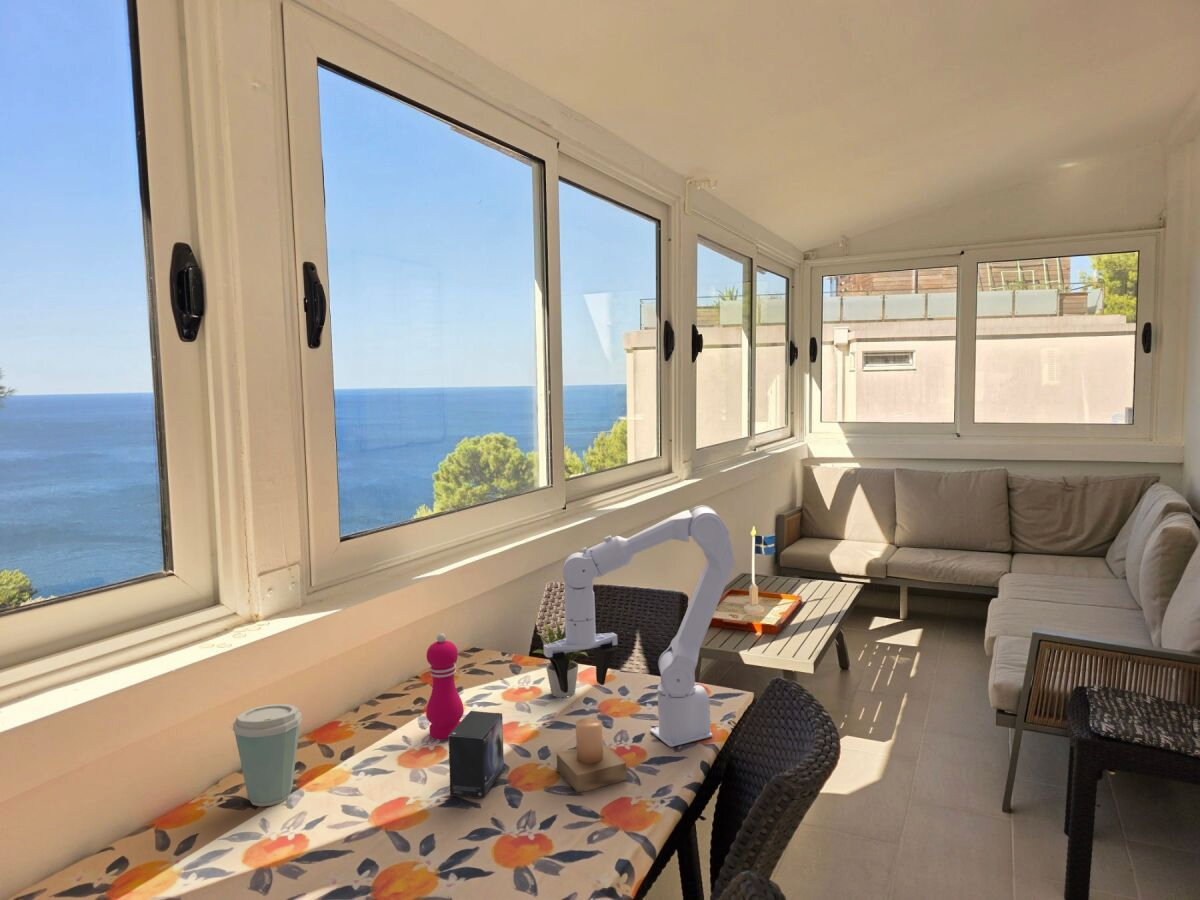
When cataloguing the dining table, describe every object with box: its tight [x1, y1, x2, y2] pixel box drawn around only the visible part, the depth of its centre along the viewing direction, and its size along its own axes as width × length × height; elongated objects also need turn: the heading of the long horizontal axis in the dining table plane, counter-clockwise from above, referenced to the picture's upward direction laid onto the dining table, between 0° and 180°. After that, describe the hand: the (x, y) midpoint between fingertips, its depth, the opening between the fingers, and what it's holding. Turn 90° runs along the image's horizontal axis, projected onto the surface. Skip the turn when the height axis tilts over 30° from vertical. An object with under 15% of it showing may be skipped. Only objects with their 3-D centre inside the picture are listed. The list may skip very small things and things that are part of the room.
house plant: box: [533, 620, 588, 698], centre depth 171 cm, size 14×14×16 cm
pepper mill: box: [425, 633, 465, 741], centre depth 154 cm, size 7×7×20 cm
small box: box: [448, 710, 505, 799], centre depth 134 cm, size 11×6×10 cm, turn 168°
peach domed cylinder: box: [575, 717, 604, 764], centre depth 136 cm, size 5×5×6 cm
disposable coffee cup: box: [232, 703, 303, 807], centre depth 131 cm, size 11×11×15 cm
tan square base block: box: [556, 742, 627, 794], centre depth 136 cm, size 9×9×3 cm
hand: (582, 687), depth 150 cm, fingers open, 7 cm apart
